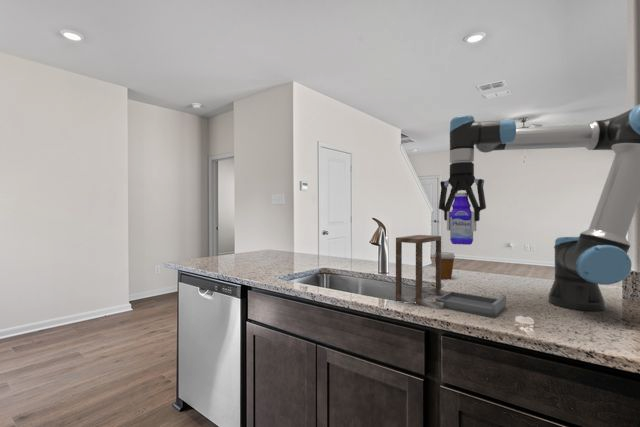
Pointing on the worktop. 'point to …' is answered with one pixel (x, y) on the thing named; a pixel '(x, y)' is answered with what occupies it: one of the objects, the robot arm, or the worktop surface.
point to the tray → (473, 304)
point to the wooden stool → (419, 271)
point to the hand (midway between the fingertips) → (461, 230)
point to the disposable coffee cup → (446, 264)
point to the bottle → (461, 220)
